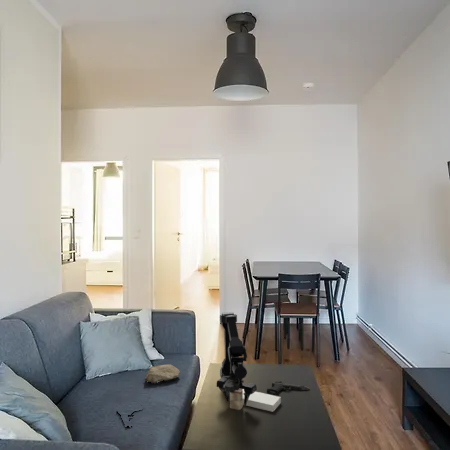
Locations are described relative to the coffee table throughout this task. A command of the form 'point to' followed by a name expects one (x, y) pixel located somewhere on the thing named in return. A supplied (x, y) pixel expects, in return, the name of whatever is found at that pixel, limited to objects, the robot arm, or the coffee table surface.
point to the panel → (263, 401)
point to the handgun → (284, 388)
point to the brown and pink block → (236, 399)
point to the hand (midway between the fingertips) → (236, 403)
